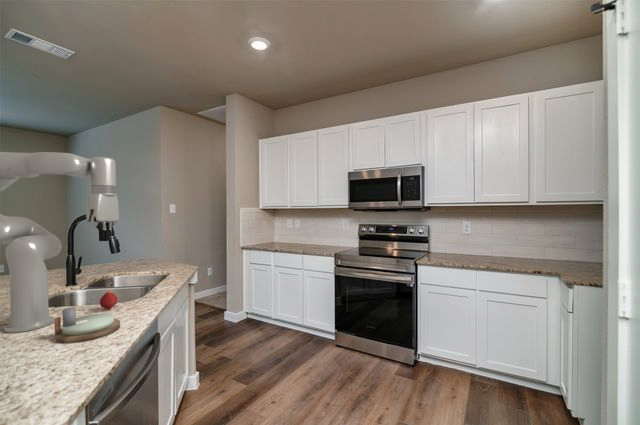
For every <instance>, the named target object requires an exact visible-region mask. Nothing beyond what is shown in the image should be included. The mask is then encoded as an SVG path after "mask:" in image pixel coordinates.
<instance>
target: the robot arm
mask: <svg viewBox="0 0 640 425" xmlns="http://www.w3.org/2000/svg"><path fill="white" fill-rule="evenodd" d="M116 165H117V164H116V160H115V159H113V158H111V157H106V156H95V157H94V156H93V157H92V158H87V157H83V156H81V155H78V154H74V153H69V152H53V151H50V152H49V151H39V152H10V151H0V193H2V192H3V191H4V190H6V189H7V188H9V187H10V186H11V185H13V184H14V183H15V182H17V181H19V179H20V178H37V177H39V176H40V175H62V176H63V175H64V176H70V177H75V178H81V179H90V194H88V198H87V202H86V214H85V216H86V221H87V222H89V225H90V226H93V227H95V228H96V230H97V231H98V241H99V242H110V241H111V230H112V227H113V226H115V225H117V224H118V220H119V218H120V208H119V200H118V195H117V191H118V190H117V175H116V173H117V172H116V170H117V169H116V168H117V167H116ZM5 244H7V246H6V247H5V258H6V261H7V265H8V271H9V290H10V291H9V292H10V293H9V294H10V298H9V300H10V301H9V302H10V313H9V315H8V316H7V315H6V316H4V321H8V323H9V324H7V325H5V326H4V327H3V328H4V329H3V330H4V332H5V333H9V334H10V333H23V332H30V331H33V330H38V329H41V328H44V327H47V326H49V325H51V324H53V323H55V317H54V316H51V315H50V316H49V314H50V312H49V274H48V269H47V266H46V264H45V260H46V261H47V260H49V259H52V258H55V257H57V256H58V255H59V254H60V253H61V252H62V249H63V248H62V247H63V245H62V242H61V240H60V239H59V238H58V237H57V236H56V235H55V234H54V233H52V232H50V231H49V230H48V229H46V228H44V227H43V226H41V225H40V224H38V222H35V221H34V220H32V219H30V218H27V217H23V216H6V215H3V214H2V213H0V245H5Z"/></svg>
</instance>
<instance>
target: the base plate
mask: <svg viewBox="0 0 640 425" xmlns="http://www.w3.org/2000/svg"><path fill="white" fill-rule="evenodd" d="M61 322H62V321H61V316H57V317H54V341H55V342H56V343H58V344H78V343H79V344H80V343H85V342H89V341H93V340H97V339H100V338H101V339H102V338H104V337H106V336H109V335H111V334H113V333H115V332H117V331H118V330H119V329H120V328H121V321H120V320H119V319H118V318H114V323H113V324H112V325H111V326H109V327H107V328H105V329H102V330H99V331H96V332H92V333H87V334H81V335H65V334H63V333H62V324H61Z"/></svg>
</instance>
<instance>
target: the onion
mask: <svg viewBox="0 0 640 425" xmlns="http://www.w3.org/2000/svg"><path fill="white" fill-rule="evenodd" d="M117 303H118V297H117V295H116V293H113V292H112V290H111V289H110V290H109V289H108V290H107V291H106V292H105V293H104V294H103V295H102V296H101V298H100V299H99V306H100V307H101V308H102V309H105V310H107V311H110V310H112V309H113V308H114V307H115V306H116V305H117Z"/></svg>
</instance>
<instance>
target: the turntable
mask: <svg viewBox="0 0 640 425" xmlns="http://www.w3.org/2000/svg"><path fill="white" fill-rule="evenodd" d="M76 311H77V308H76V307H68V308H64V309H63V310H62V324H61V329H62V333H63V334H65V335H81V334H87V333H92V332H96V331H99V330H102V329H105V328H107V327H109V326H111V325H112V324H113V323H114V319H115V315H114V314H112V313H94V314H88V315H83V316H79V317H78V316H77V313H76ZM76 316H77V317H76Z"/></svg>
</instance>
